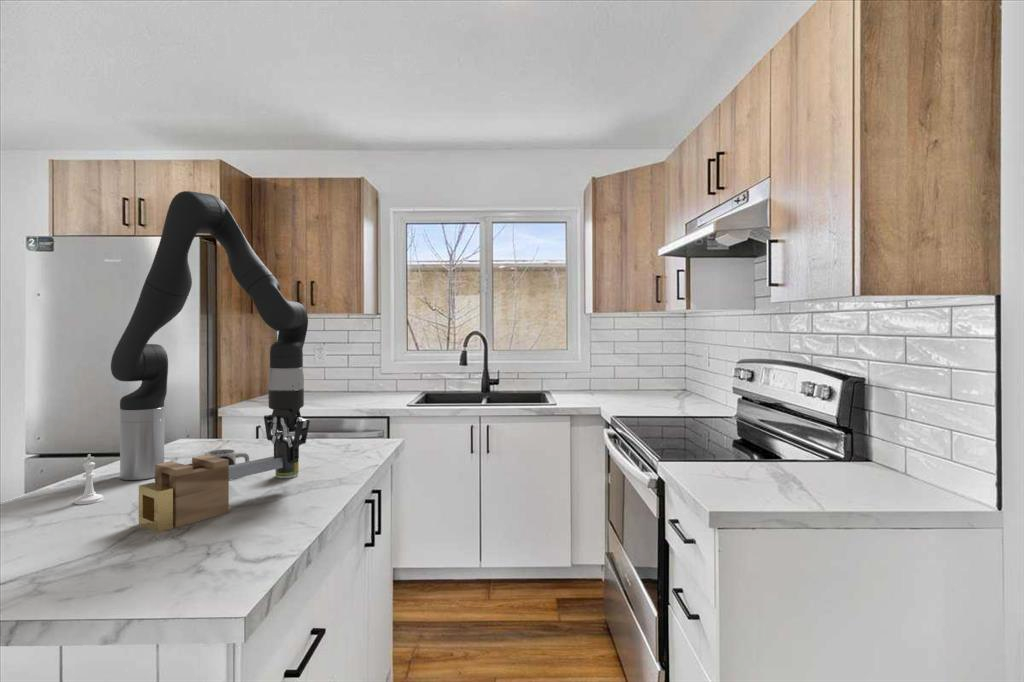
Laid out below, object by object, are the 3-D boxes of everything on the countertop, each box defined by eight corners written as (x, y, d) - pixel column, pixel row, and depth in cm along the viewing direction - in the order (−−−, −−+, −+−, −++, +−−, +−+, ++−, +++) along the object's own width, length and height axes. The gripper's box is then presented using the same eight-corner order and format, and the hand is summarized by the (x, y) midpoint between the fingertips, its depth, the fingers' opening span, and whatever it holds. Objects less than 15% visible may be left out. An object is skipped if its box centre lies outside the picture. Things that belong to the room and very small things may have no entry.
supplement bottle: (290, 479, 134) (290, 440, 134) (270, 478, 136) (270, 439, 135) (302, 474, 140) (302, 436, 140) (284, 472, 141) (284, 435, 141)
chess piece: (105, 501, 116) (105, 454, 116) (76, 506, 113) (76, 458, 113) (100, 496, 120) (100, 451, 120) (72, 501, 116) (72, 454, 116)
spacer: (138, 524, 102) (138, 485, 102) (153, 520, 105) (153, 482, 104) (158, 532, 99) (158, 491, 98) (173, 528, 101) (172, 488, 101)
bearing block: (154, 519, 105) (154, 464, 105) (206, 505, 114) (206, 454, 113) (176, 527, 101) (176, 470, 101) (228, 512, 109) (228, 459, 109)
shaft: (175, 494, 106) (175, 458, 106) (287, 468, 128) (287, 438, 127) (186, 497, 104) (186, 461, 104) (298, 470, 125) (298, 440, 125)
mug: (207, 483, 130) (207, 456, 130) (202, 478, 135) (202, 451, 135) (252, 477, 136) (252, 451, 136) (246, 471, 142) (246, 446, 141)
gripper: (252, 386, 125) (252, 460, 125) (291, 390, 118) (291, 469, 118) (281, 384, 132) (281, 454, 132) (320, 387, 124) (320, 462, 124)
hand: (286, 460), depth 125 cm, fingers open, 4 cm apart
